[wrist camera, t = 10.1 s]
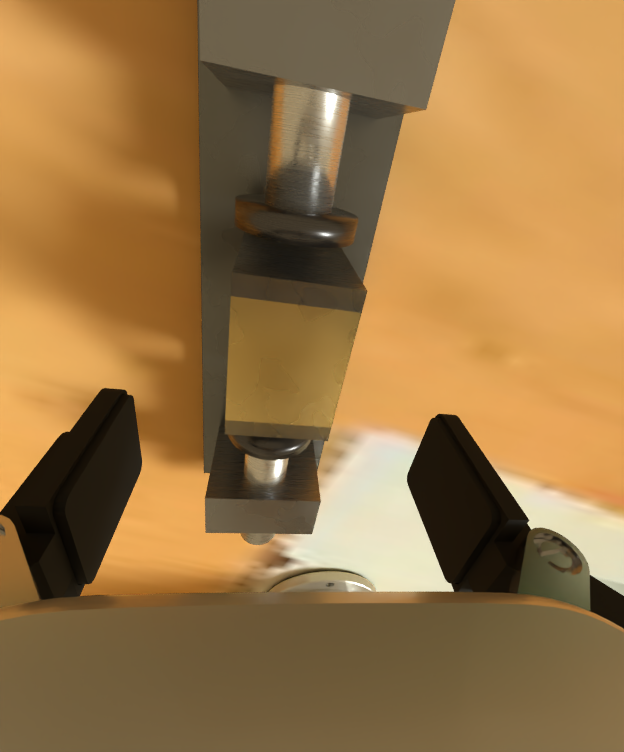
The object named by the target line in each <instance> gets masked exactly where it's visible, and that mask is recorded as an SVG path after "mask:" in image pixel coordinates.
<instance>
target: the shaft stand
mask: <svg viewBox="0 0 624 752" xmlns="http://www.w3.org/2000/svg"><path fill="white" fill-rule="evenodd" d="M454 4H455V0H197V6H198V78H199V149H200V221H201V293H202V364H203V436H204V473H210V476H209V481H208V486H207V491H206V497H205V527H206V533H240V534H241V536H242V538H243V539H244V540H245V541H247V542H248V543H250V544H254V545H261V544H265V543H267V542H269V541H270V540H271V539H272V538H273V537H274V535H275V534H312V532H313V528H314V524H315V520H316V517H317V513H318V509H319V506H320V502H321V501H320V493H319V485H318V477H317V469H318V465H319V461H320V457H321V453H322V449H323V445H324V441H321V440H305V439H290V438H274V437H258V436H243V435H227V434H225V412H226V390H227V368H228V345H229V323H230V300H231V278H232V270H233V267H234V264H235V261H236V258H237V255H238V252H239V249H240V246H241V243H242V240H243V237H244V234H245V232H247V233H249V234H252V235H255V236H258V237H261V238H264V239H268V240H272V241H276V242H281V243H286V244H292V245H298V246H306V247H316V248H342V250H343V251H344V253H345V255H346V256H347V258H348V260H349V261H350V263H351V265H352V266H353V268H354V270H355V271H356V273H357V275H358V276H359V278H360V280H361V281H362V283H363V280H364V276H365V272H366V267H367V263H368V259H369V255H370V251H371V247H372V243H373V239H374V234H375V230H376V226H377V222H378V218H379V214H380V210H381V206H382V201H383V197H384V193H385V189H386V185H387V181H388V177H389V173H390V169H391V164H392V160H393V156H394V152H395V148H396V144H397V140H398V136H399V131H400V127H401V123H402V119H403V115H404V114H406V113H411V112H416V111H421V110H426V108H427V104H428V100H429V97H430V93H431V89H432V86H433V82H434V78H435V74H436V71H437V67H438V63H439V60H440V56H441V52H442V48H443V45H444V41H445V37H446V34H447V30H448V26H449V22H450V19H451V15H452V11H453V7H454Z"/></svg>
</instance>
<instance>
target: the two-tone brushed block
mask: <svg viewBox="0 0 624 752" xmlns="http://www.w3.org/2000/svg"><path fill="white" fill-rule="evenodd" d="M366 294H367V290H366V288H365V286H364V285H363V283H362V281H361V280H360V278H359V276H358V275H357V273H356V271H355V270H354V268H353V266H352V265H351V263H350V261H349V260H348V258H347V256H346V255H345V253H344V251H343V250H342V248H316V247H306V246H298V245H292V244H286V243H281V242H276V241H272V240H268V239H264V238H261V237H258V236H255V235H252V234H249V233H247V232H245V234H244V237H243V240H242V243H241V246H240V249H239V252H238V255H237V258H236V261H235V264H234V267H233V270H232V278H231V300H230V323H229V345H228V368H227V390H226V412H225V434H227V435H243V436H258V437H274V438H290V439H305V440H321V441H328V438H329V434H330V430H331V426H332V423H333V419H334V415H335V411H336V408H337V404H338V400H339V396H340V392H341V389H342V385H343V381H344V377H345V373H346V370H347V366H348V362H349V358H350V354H351V351H352V347H353V343H354V339H355V336H356V332H357V328H358V324H359V320H360V317H361V313H362V309H363V305H364V301H365V298H366Z"/></svg>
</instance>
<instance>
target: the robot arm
mask: <svg viewBox="0 0 624 752" xmlns="http://www.w3.org/2000/svg"><path fill="white" fill-rule="evenodd" d="M141 467H142V457H141V450H140V442H139V435H138V427H137V420H136V412H135V405H134V398H133V396H132V395H127V392H126V390H121V389H108V388H104V389H102V390H101V391H100V392H99V393H98V395H97V396H96V397H95V399H94V400H93V401H92V403H91V404H90V405H89V407H88V408H87V409H86V411H85V412H84V413H83V415H82V416H81V417H80V419H79V420H78V421H77V423H76V424H75V425H74V427H73V428H72V429H71V431H70V432H65V433H62V434H61V435H60V436H59V437H58V438H57V440H56V441H55V442H54V444H53V445H52V446H51V448H50V449H49V450H48V451H47V453H46V454H45V455H44V457H43V458H42V459H41V460H40V462H39V463H38V464H37V466H36V467H35V468H34V469H33V471H32V472H31V473H30V475H29V476H28V477H27V478H26V480H25V481H24V482H23V484H22V485H21V486H20V488H19V489H18V490H17V491H16V493H15V494H14V495H13V497H12V498H11V499H10V500H9V502H8V503H7V504H6V506H5V507H4V508H3V509H2V511H1V512H0V752H624V596H623V595H621V594H619V593H618V592H616V591H615V590H613V589H612V588H610V587H608V586H607V585H605V584H604V583H602V582H600V581H599V580H597V579H596V578H594V577H592V576H591V575H590V571H589V566H588V563H587V561H586V559H585V557H584V556H583V554H582V553H581V552H580V551H579V549H578V548H577V547H576V546H575V545H574V544H573V543H571V542H570V541H569V540H568V539H566V538H565V537H563V536H562V535H560V534H559V533H556V532H554V531H552V530H550V529H545V528H534V529H532V530H531V529H530V527H529V526H528V524H527V523H528V521H529V519H528V518H527V516H526V515H525V513H524V512H523V510H522V509H521V507H520V506H519V505H518V503H517V502H516V500H515V499H514V497H513V496H512V494H511V493H510V491H509V490H508V489H507V487H506V486H505V484H504V483H503V481H502V480H501V478H500V477H499V475H498V474H497V473H496V471H495V470H494V468H493V467H492V465H491V464H490V462H489V461H488V460H487V458H486V457H485V455H484V454H483V452H482V451H481V449H480V448H479V446H478V445H477V444H476V442H475V441H474V439H473V438H472V436H471V435H470V433H469V432H468V430H467V429H466V428H465V426H464V425H463V423H462V422H461V420H460V419H459V418H458V416H456V415H448V414H438V415H437V416H436V417H435V418H432V419H431V420H430V422H429V425H428V427H427V429H426V432H425V434H424V437H423V439H422V441H421V444H420V446H419V448H418V451H417V453H416V455H415V458H414V460H413V463H412V465H411V467H410V470H409V472H408V475H407V483H408V486H409V489H410V491H411V494H412V496H413V499H414V501H415V504H416V506H417V509H418V511H419V514H420V516H421V519H422V521H423V524H424V527H425V529H426V532H427V534H428V537H429V539H430V542H431V544H432V547H433V549H434V552H435V554H436V557H437V559H438V562H439V565H440V567H441V570H442V572H443V575H444V577H445V579H446V581H447V582H448V583H451V584H452V587H453V589H454V592H376V589H375V587H374V586H373V584H372V583H371V582H369V581H368V580H367V579H365V578H363V577H361V576H359V575H356V574H352V573H348V572H340V571H321V572H312V573H307V574H302V575H299V576H295V577H292V578H290V579H287V580H285V581H283V582H281V583H279V584H278V585H276V586H274V587H273V588H272V589H271V590H270V591H268V592H254V593H166V594H127V595H92V596H80V594H81V592H82V590H83V587H84V585H85V584H90V583H92V581H93V580H94V578H95V576H96V574H97V572H98V569H99V567H100V565H101V562H102V560H103V558H104V555H105V553H106V551H107V548H108V546H109V544H110V541H111V539H112V537H113V534H114V532H115V530H116V528H117V525H118V523H119V521H120V518H121V516H122V514H123V511H124V509H125V507H126V504H127V502H128V500H129V497H130V495H131V493H132V490H133V488H134V486H135V484H136V481H137V479H138V477H139V474H140V472H141Z"/></svg>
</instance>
